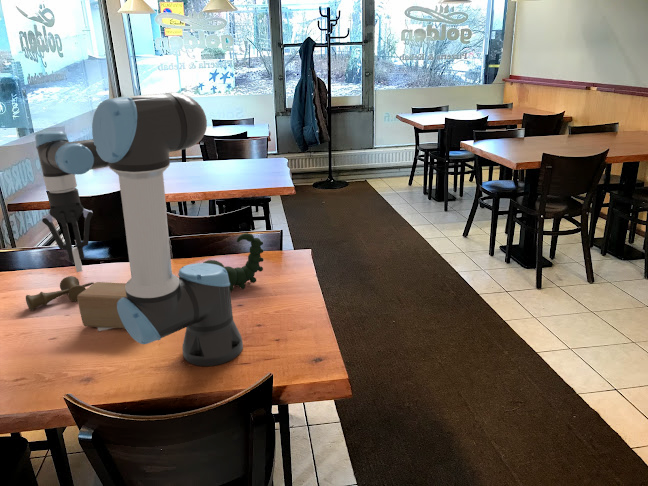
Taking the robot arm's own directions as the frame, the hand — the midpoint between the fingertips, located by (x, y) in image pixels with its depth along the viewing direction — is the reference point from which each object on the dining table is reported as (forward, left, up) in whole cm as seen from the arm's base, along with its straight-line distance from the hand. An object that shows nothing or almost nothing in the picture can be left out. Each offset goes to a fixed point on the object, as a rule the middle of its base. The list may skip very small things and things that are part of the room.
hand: (79, 269), depth 147 cm
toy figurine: (0, -42, -16) cm, 45 cm away
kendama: (+18, +8, -16) cm, 25 cm away
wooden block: (-2, -1, -10) cm, 10 cm away
